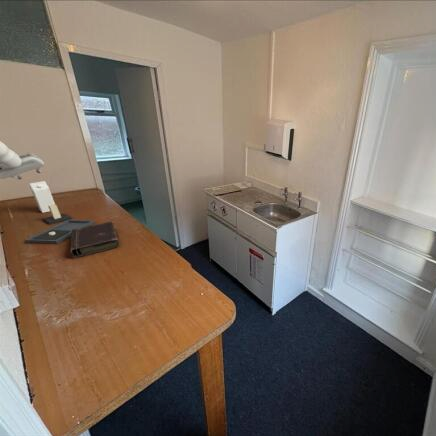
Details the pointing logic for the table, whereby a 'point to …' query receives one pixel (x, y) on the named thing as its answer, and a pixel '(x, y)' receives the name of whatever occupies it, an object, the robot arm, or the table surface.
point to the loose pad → (64, 217)
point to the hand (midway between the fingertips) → (30, 175)
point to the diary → (93, 239)
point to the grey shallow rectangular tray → (62, 226)
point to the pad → (53, 234)
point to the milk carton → (42, 195)
